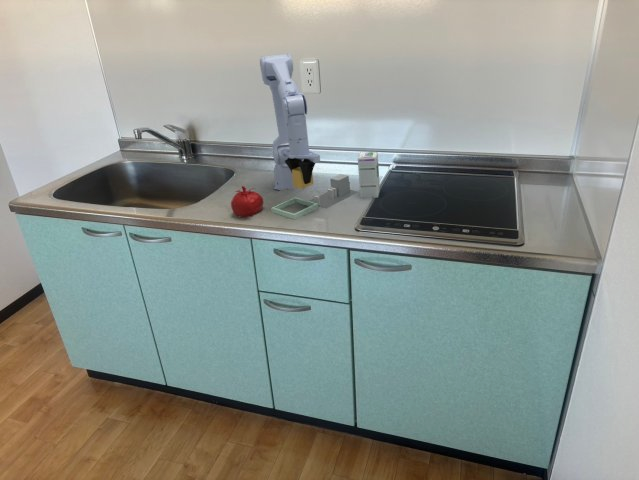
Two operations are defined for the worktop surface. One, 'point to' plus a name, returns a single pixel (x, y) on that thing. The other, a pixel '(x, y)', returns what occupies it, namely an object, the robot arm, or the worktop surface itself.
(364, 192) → the syrup box
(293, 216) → the tray
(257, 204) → the pomegranate
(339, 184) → the grey rectangular block
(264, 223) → the worktop surface
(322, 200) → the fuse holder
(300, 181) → the block
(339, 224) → the worktop surface
